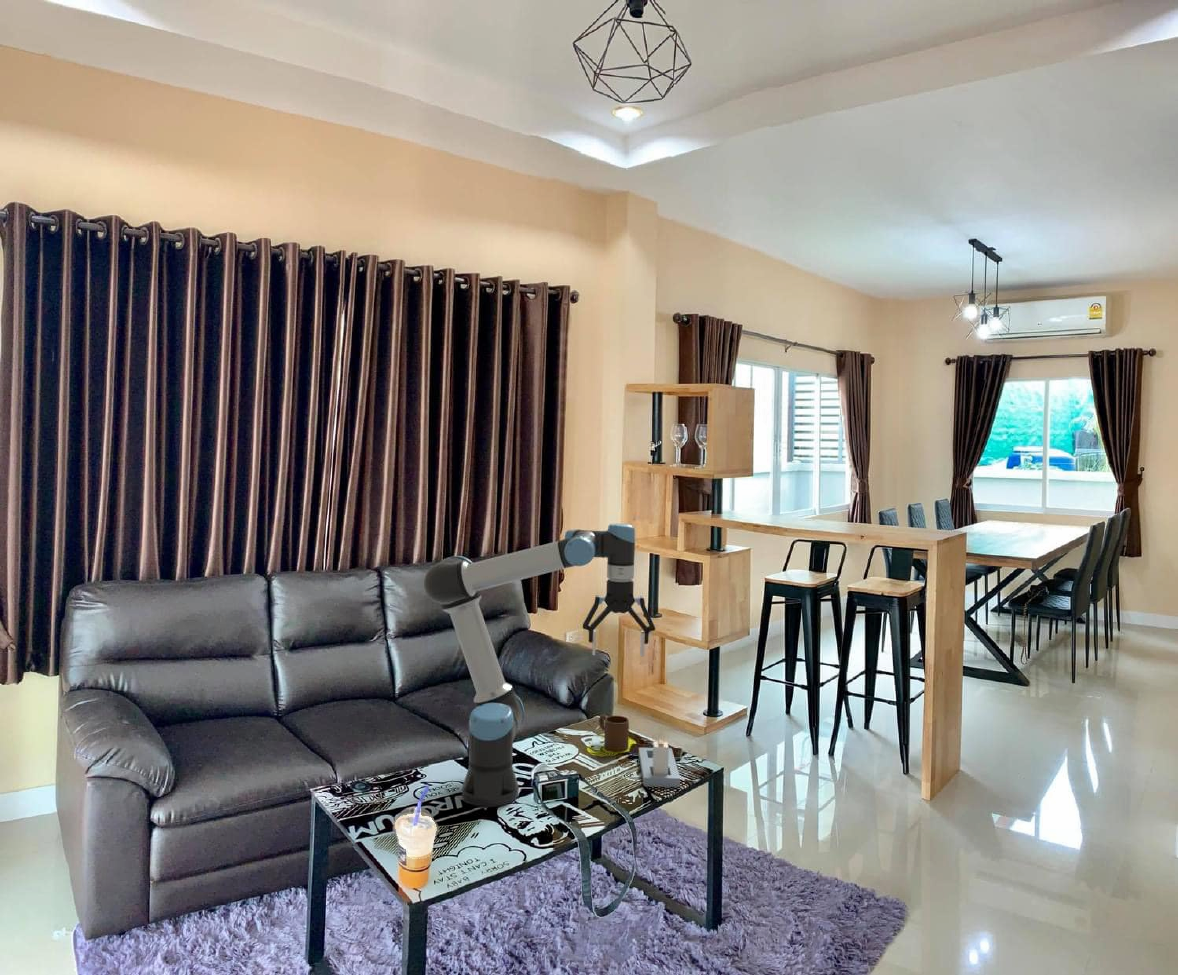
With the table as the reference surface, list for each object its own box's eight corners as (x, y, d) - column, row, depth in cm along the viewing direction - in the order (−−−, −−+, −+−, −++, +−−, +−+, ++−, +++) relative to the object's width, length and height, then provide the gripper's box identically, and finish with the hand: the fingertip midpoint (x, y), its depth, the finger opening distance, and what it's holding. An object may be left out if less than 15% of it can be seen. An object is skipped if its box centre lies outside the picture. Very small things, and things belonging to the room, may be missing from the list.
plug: (653, 781, 228) (654, 744, 227) (652, 775, 232) (653, 738, 231) (667, 782, 228) (668, 744, 227) (666, 776, 232) (667, 739, 231)
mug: (590, 743, 257) (590, 714, 256) (608, 738, 262) (608, 709, 261) (615, 755, 248) (615, 725, 247) (633, 749, 252) (634, 720, 252)
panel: (643, 788, 225) (644, 777, 224) (638, 757, 247) (638, 747, 246) (679, 788, 225) (680, 778, 225) (671, 757, 247) (671, 748, 246)
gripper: (575, 580, 221) (573, 656, 223) (666, 583, 222) (663, 659, 223) (575, 576, 229) (573, 649, 230) (663, 578, 229) (661, 652, 230)
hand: (618, 654), depth 226 cm, fingers open, 13 cm apart
